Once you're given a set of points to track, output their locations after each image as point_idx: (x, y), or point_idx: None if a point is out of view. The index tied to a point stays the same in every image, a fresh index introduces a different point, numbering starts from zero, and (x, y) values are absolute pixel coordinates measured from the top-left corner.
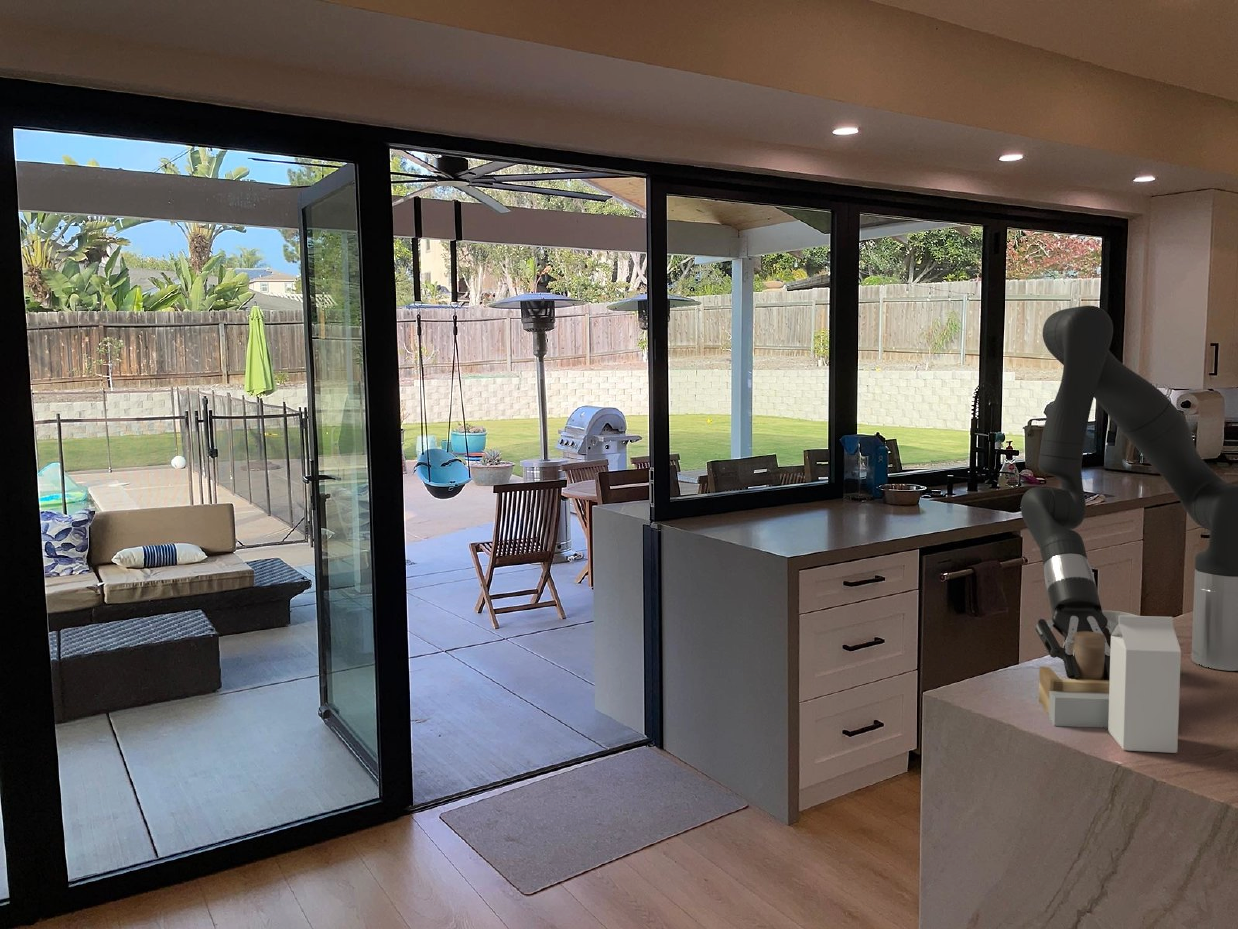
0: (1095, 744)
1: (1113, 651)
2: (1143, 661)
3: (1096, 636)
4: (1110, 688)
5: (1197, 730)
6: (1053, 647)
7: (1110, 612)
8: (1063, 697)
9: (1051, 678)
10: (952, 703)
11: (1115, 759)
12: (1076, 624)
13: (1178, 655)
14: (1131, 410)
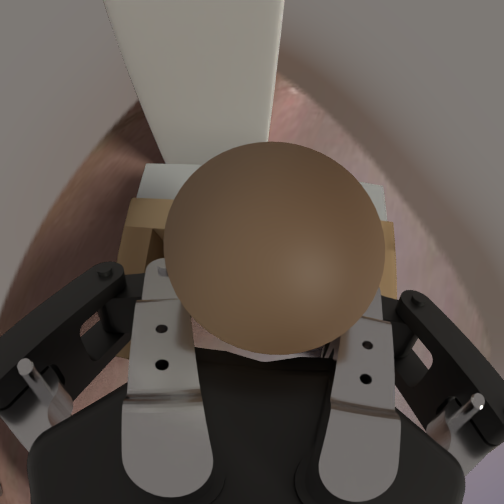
0: (306, 137)
1: (283, 1)
2: None
3: (238, 203)
4: (271, 105)
5: (92, 199)
6: (429, 299)
7: None
8: (365, 184)
9: (392, 252)
10: (483, 329)
11: (294, 96)
12: (343, 410)
13: None
14: None
